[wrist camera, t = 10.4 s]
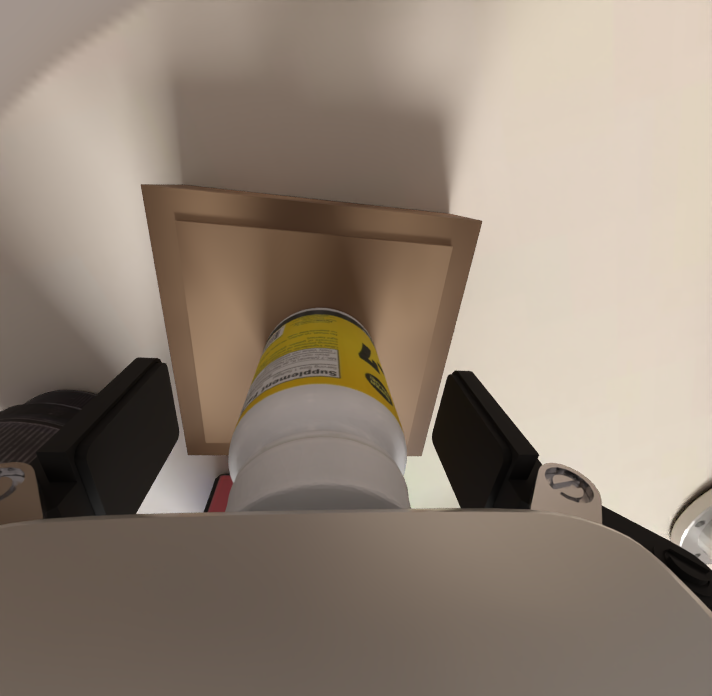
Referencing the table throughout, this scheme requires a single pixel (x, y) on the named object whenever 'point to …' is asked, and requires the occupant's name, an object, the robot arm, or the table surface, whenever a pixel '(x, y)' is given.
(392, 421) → the supplement bottle
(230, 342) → the walnut tray
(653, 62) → the table surface
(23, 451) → the camera lens
